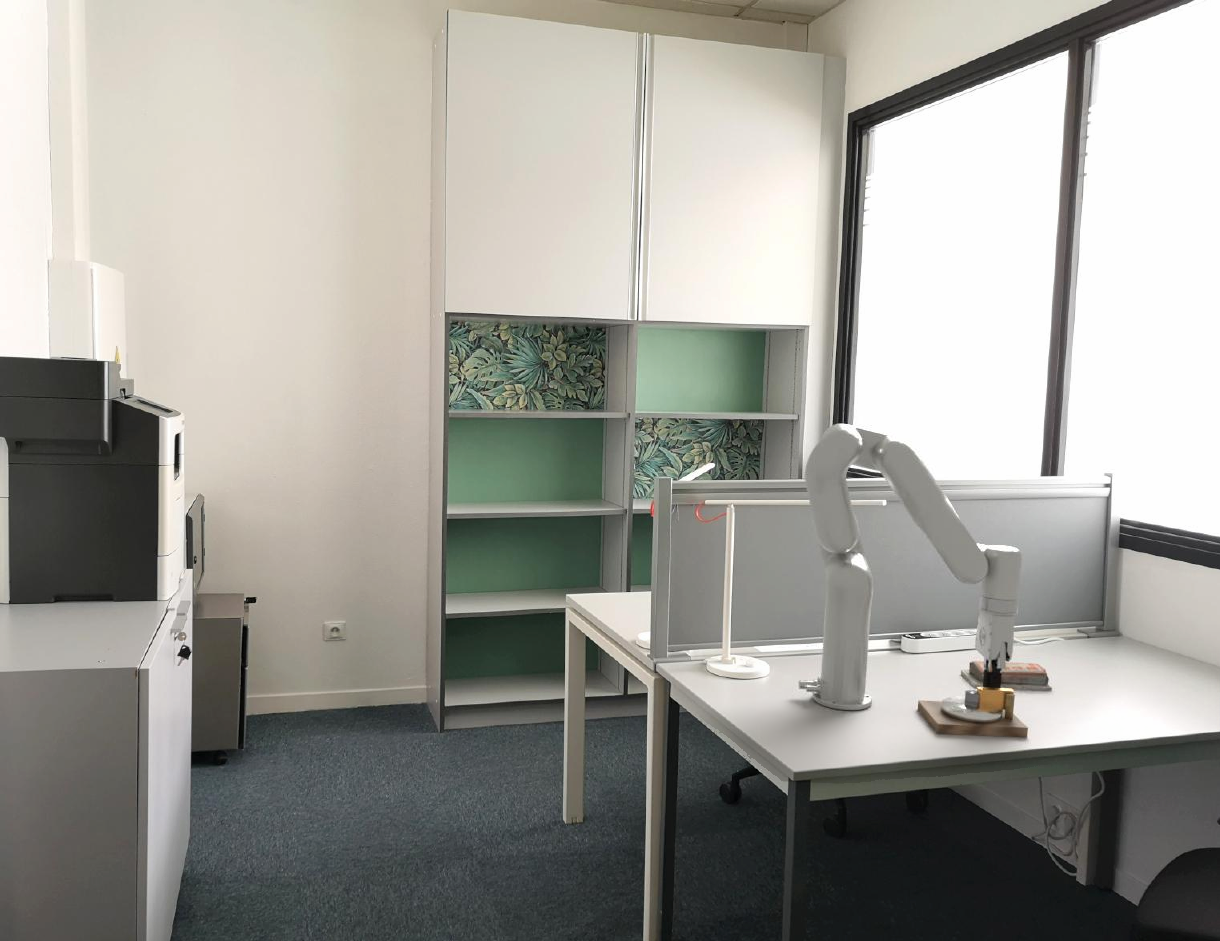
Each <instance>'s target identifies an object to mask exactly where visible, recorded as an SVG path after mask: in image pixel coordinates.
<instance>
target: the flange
mask: <svg viewBox="0 0 1220 941" xmlns="http://www.w3.org/2000/svg"><path fill="white" fill-rule="evenodd" d="M1007 693H1011V694H1014V695H1015V691H1014V689H1007V688H988V687H977V688H976V690H973V689H971V690H970V689H969V690H968V689H967V690H965V695H964V696H951V697H947V698H944V699H942V700H941V701H942V704H941V710H942V711H943V712H944V713H945V714H947V715H949V716H951V717H954V718H957V719H960V720H965V721H970V722H979V723H990V722H996V721H999V720H1001V719H1002V714H1003V710H1005V705H1006V694H1007Z"/></svg>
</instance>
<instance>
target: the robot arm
mask: <svg viewBox="0 0 1220 941" xmlns="http://www.w3.org/2000/svg"><path fill="white" fill-rule="evenodd" d="M851 465H852V466H854V467H855V466H856V467H860V468H864V469H867V470H872V471H878V472H880V474H881V475H882V477H883V478H884V480H885V481H886V483H887V484H888V485H889V487H890V488H891V490H892V491H893V493H894V494H895V496H896V497H897V499H898V500H899V502H900V504H901V505H902V507H903V508H904V510H905V511H906V513H907V514H908V516H909V517H910V519H911V520H912V521H913V523H914V525H915V526H916V527H918V529H919V530H920V531H921V532H922V533H923V534H924V535H925V536H926V538H927V539H928V540H929V542H930V544H931V546H933V548H934V549H935V551H936V552H937V554H938V555H939V557H940V558H941V559H942V561H943V564H944V566H945V568H946V569H947V570H948V572H949V573H950V574H951V576H952V577H953V578H954V580H956V581H957V582H958V583H961V584H964V585H968V586H969V585H976V584H978V583H980V582H981V583H980V584H981V585H980V597H979V606H978V607H979V614H978V619H977V628H976V632H975V633H976V635H975V641H974V648H975V650H976V651H977V653H979V655H981V656H982V657H983V659H984V660H983V661H984V668H985V669H984V677H983V687H988V688H1001V677H1002V671H1003V669H1005V668H1006V662H1011V661H1012V657H1013V653H1014V651H1013V650H1014V638H1015V636H1014V635H1015V631H1014V630H1015V616H1016V615H1018V610H1019V609H1018V608H1019V596H1020V595H1019V594H1020V584H1021V583H1020V582H1021V573H1022V572H1021V571H1022V560H1023V554H1022V551H1021V550H1019V549H1018V548H1016V547H1014V546H1009V545H999V544H997V545H995V544H992V545H987V544H986V545H985V544H981V543H977V542H976V541H975V539H974V537H973V536H972V535H971V533H970V532H969V529H968V528H967V527H966V526H965V524H964V522H963V521H962V519H961V518H960V516H959V515H958V513H957V512H956V510H955V508H954V506H953V505H952V503H951V501H950V500H949V498H948V497H947V494H945V492H944V491H943V489H942V488H941V486H940V485H939V483H938V481H936V479H935V477H934V476H933V474H932V473H931V471H930V470H929V468H928V467H927V465H926V464H925V462H924V460H923V459H922V458H921V456H920V454H919V453H918V451H917V450H916V449H915V447H914V446H913V445H912V444H911V443H910V442H909V441H907V440H906V439H904V438H903V437H901V436H898V435H894V434H889V433H884V432H880V431H877V430H870V429H868V428H863V427H859V426H856V425H851V424H846V423H836V424H833V425H831V426H829V427H827V428H826V429H825V431H824V432H823V434H822V436H821V440H820V441H818V443H817V444H816V445H815V447H814V448H813V449H812V450H811V453H810V455H809V457H808V459H807V462H806V466H805V472H804V477H805V478H804V479H805V480H804V481H805V486H806V487H805V488H806V491H807V495H808V501H809V506H810V510H811V514H812V519H813V529H814V530H813V531H814V534H815V537H816V541H817V546H818V551H819V553H820V556H821V557H820V558H821V561H822V565H823V570H824V572H825V577H826V579H825V580H826V597H825V607H824V620H823V622H824V623H823V641H822V656H821V672H820V675H817V678H816V679H815V678H814V679H813V680H806V679H805V680H804V679H803V680H802V679H799V680H798V689H799V690H805V691H806V692H807V693H812V699H813V700H814V702H815V703H817V704H819V705H821V706H824V707H826V708H831V709H836V710H844V711H857V710H864V709H867V708H869V707H871V706H872V703H873V698H872V696H870V694H868V693H867V692H866V684H867V682H866V681H867V672H868V671H867V668H868V654H869V640H870V638H869V637H870V624H871V613H872V612H871V610H872V603H873V594H874V578H873V573H872V571H871V568H870V566H869V563H868V559H867V557H866V552H865V549H864V545H863V541H862V537H861V532H860V525H859V521H858V519H857V517H856V514H855V512H854V509H853V504H852V501H851V497H850V490H849V487H848V482H847V473H848V470H849V468H850V467H851Z"/></svg>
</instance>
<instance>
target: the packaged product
mask: <svg viewBox="0 0 1220 941" xmlns="http://www.w3.org/2000/svg"><path fill="white" fill-rule="evenodd" d="M984 669H985V668H984V660H972V661H970V662H969V669H960V674H961V676H962V677H963V678H964V680H966V681H967V683H969V685H971V687H973V688H974V689H977V687H983V677H984ZM1049 680H1050V678H1049V676H1048V673H1047V671H1046V669H1045V668H1044V667H1042V666H1041V665H1040V664H1038V663H1029V662H1028V663H1027V662H1025V663H1024V662H1012V661H1009V662H1007V661H1006V668H1005V669H1003V671H1002V677H1001V688H1007V689H1012V690H1019V691H1020V690H1021V691H1022V690H1023V691H1027V690H1028V691H1048V692H1049V691H1050V692H1051V691H1052V690H1053V687H1052V686H1051V685H1049Z"/></svg>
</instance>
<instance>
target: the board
mask: <svg viewBox="0 0 1220 941" xmlns="http://www.w3.org/2000/svg"><path fill="white" fill-rule="evenodd" d="M1015 696H1016V694H1015V693H1014V694H1011V693H1007V694H1006V705H1005V710H1003V714H1002V719H1001V720H999V721H996V722H990V723H979V722H970V721H965V720H960V719H957V718H954V717H951V716H949V715H947V714H945V713H944V712H943V711H942V710H941V704H942V701H943V700H920V699H919V700H918V701H917V711H918V712H919V713H920V715H922V716H923V718H924V719H925V721H926V722H927V723H928V724H929V726H930V727H931V728H932V730H934V732H935V733H936V734H937V735H938V734H939V735H961V736H962V735H965V736H985V737H986V736H987V737H990V736H991V737H1012V738H1013V737H1016V738H1028V733H1029V732H1028V731H1029V730H1028V729H1029V727H1027V725H1026V724H1025V723H1024V722H1023V721H1022V720H1020V718H1018V716H1016V715H1015V714H1014V708H1015Z"/></svg>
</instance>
